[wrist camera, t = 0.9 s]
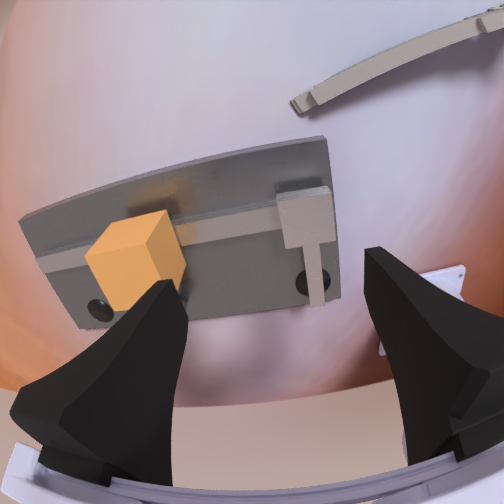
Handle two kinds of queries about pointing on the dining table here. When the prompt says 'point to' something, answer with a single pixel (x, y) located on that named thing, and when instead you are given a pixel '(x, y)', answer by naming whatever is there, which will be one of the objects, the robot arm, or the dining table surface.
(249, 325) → the dining table surface
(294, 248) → the board
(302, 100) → the caliper
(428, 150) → the dining table surface
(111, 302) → the block
